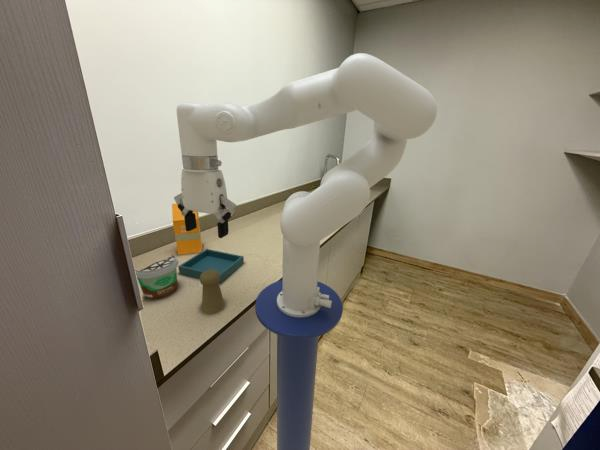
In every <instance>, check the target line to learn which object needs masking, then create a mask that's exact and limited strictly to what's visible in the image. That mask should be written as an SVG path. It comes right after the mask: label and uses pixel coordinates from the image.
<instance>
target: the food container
mask: <svg viewBox="0 0 600 450" xmlns="http://www.w3.org/2000/svg"><path fill="white" fill-rule="evenodd" d="M178 266H179V261H178V258H177V257H176V255H175V254H174V253H171V256H169V257H168V258H166V259H163V260H159V261H155V262H154V263H151V264H150V265H149V266H146V267H144V268H143V269H140V270H138V269H135V270H134V272H135V271H136V275H137V278H136V279H137V281H138V284H139V287H140V289H141V291H142V294H143V297H144V299H147V300H159V299H164V298H166V297H169V296H171V295H172V294H174V293H175V292H176V291H177V289H178V274H177V267H178Z"/></svg>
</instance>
